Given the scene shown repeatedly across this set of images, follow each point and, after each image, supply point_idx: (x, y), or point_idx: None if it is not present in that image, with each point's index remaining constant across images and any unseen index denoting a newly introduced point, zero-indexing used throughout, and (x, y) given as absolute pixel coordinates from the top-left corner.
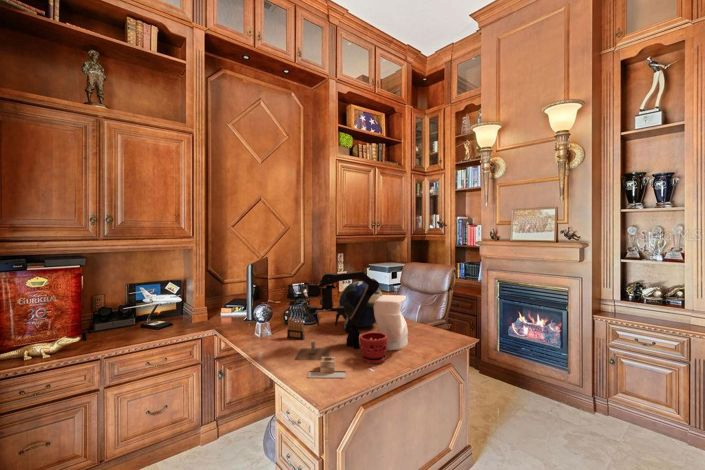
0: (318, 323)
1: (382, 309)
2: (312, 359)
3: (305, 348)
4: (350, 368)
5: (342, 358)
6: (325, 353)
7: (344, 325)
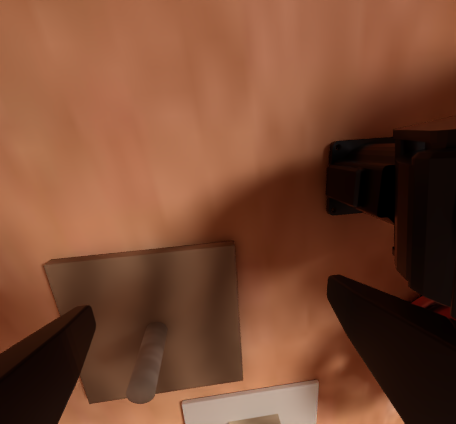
0: (75, 379)
1: None
2: (173, 385)
3: (80, 265)
4: (331, 399)
5: (301, 327)
6: (219, 316)
7: (436, 198)
